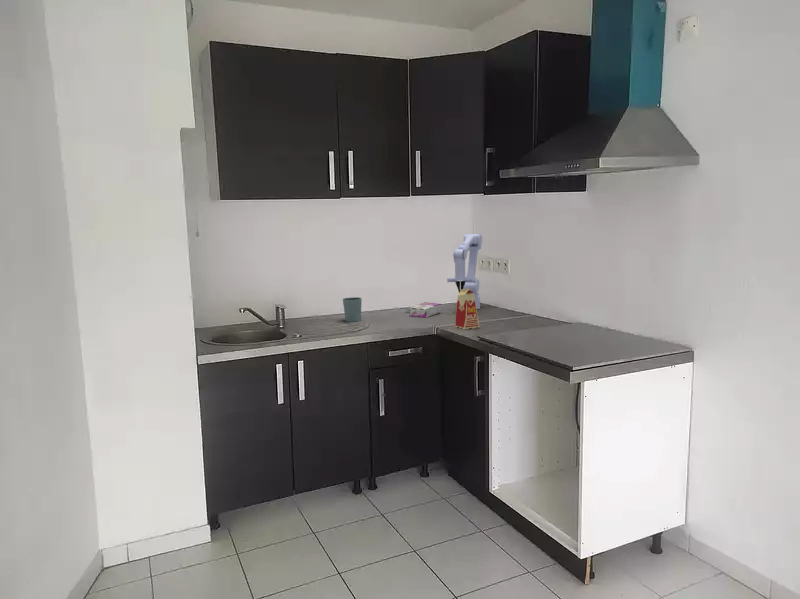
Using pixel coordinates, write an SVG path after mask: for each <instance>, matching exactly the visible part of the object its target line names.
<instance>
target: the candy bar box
mask: <svg viewBox="0 0 800 599" xmlns="http://www.w3.org/2000/svg"><path fill="white" fill-rule="evenodd" d="M408 309H409V310H410V313H409V316H410V317H416V316H419V317H418V318H425V317H427V318H429V317H431V316H434V315H437V314H439V313H441V312H442V303H437V302H426V301H425V302H421V303H419V304H416V305H413V306H411V307H410V306H409V308H408Z"/></svg>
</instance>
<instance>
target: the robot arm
mask: <svg viewBox="0 0 800 599" xmlns="http://www.w3.org/2000/svg"><path fill="white" fill-rule="evenodd" d="M482 244H483V237H482V234H481V233H465V234H464V236H463V242H461V243H460V244H459V246H458V247H457V248H456V249H455V250H453V255H452V256H453V262H454V277H451V278H450V277H449V278H447V280H446V281H447V282H446V283H455V285H456V287H457V288H456V289H457V290H458V294H459V293H460V289H466V288H470V289H469V290H470V291H472V292H474V296H475V302H476V308H477V310H480V309H481V307H480V306H481V299H480V298H481V296H480V295H481V294H480V293H479V291H480V280H479V279H478V278H477V277H476V273H477V272H476V270H477V262H478V255H479V254H478V253H479V251H480V250H481V249H482V246H483V245H482ZM468 252H469V255H468ZM467 256H468V262H467V270H466V259H467ZM466 271H467V272H466Z"/></svg>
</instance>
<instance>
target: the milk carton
mask: <svg viewBox="0 0 800 599" xmlns="http://www.w3.org/2000/svg"><path fill="white" fill-rule="evenodd" d="M469 289H470V288H466V289H461V288H460V293H459V292H458V294H457V299H456V307H455V321H454V328H457V327H459V328H458V329H461V328H462V329H461V330H464V329H465V330H470V329H469V328H472V329H477V328H476V327H480V321H479V314H478V309H477V308H476V302H475V296H474V292H472V291H470V290H469Z"/></svg>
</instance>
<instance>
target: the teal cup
mask: <svg viewBox="0 0 800 599" xmlns="http://www.w3.org/2000/svg"><path fill="white" fill-rule="evenodd" d="M342 304H343V311H344V319H345V322H347V323H357V322H361V321H362V297H355V296H354V297H352V296H351V297H345V298H343V299H342Z"/></svg>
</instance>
